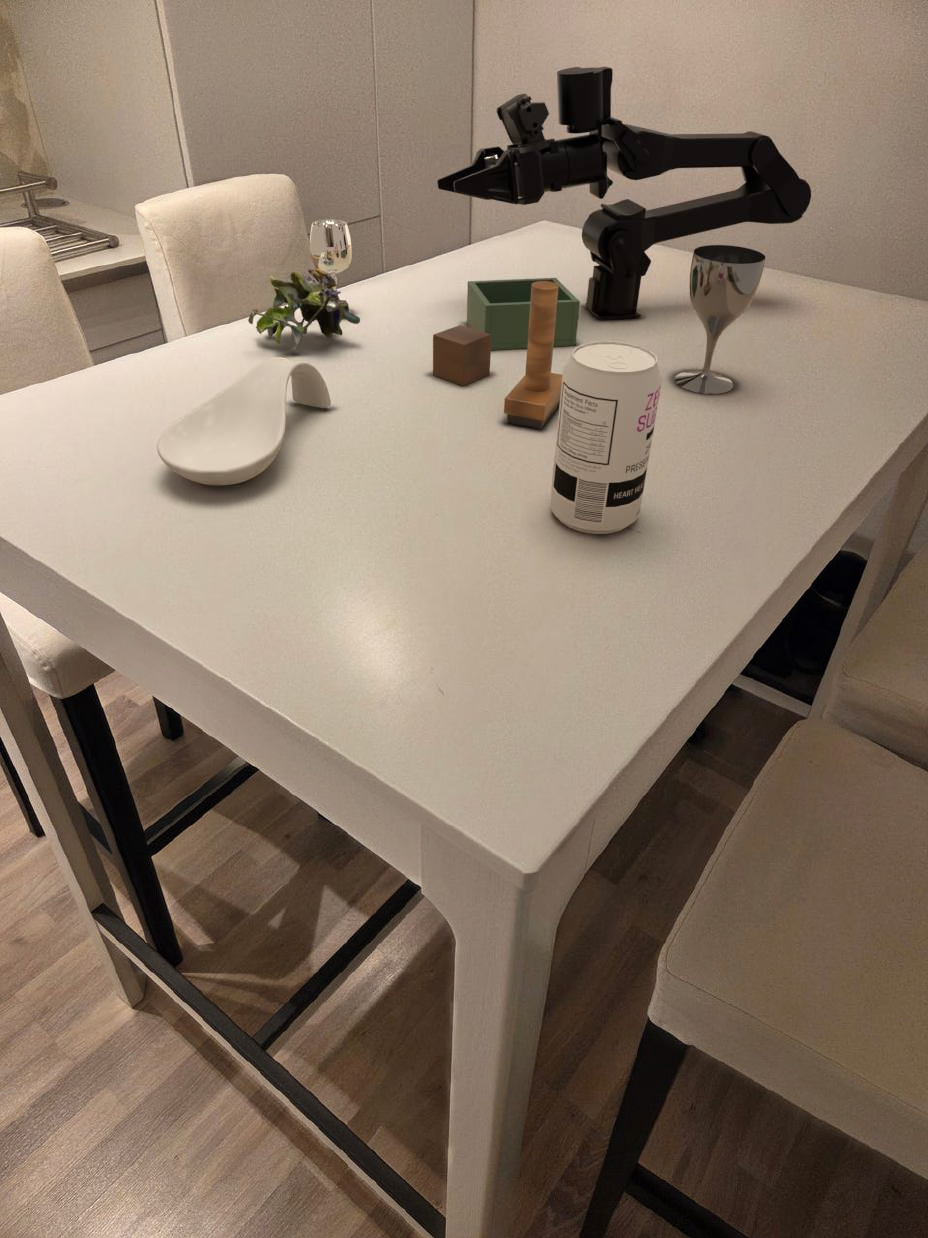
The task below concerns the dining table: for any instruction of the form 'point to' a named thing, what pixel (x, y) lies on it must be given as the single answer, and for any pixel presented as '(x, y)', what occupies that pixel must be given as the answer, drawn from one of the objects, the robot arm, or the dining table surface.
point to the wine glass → (719, 302)
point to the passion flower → (304, 306)
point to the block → (461, 355)
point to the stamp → (537, 364)
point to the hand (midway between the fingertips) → (445, 185)
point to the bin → (517, 312)
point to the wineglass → (330, 246)
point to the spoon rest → (240, 424)
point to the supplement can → (604, 435)
